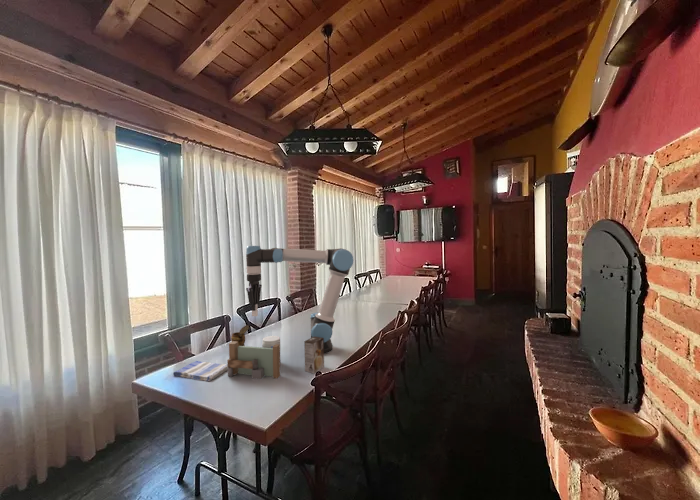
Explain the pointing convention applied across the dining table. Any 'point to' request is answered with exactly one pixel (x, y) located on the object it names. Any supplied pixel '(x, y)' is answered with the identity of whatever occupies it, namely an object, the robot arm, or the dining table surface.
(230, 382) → the dining table surface
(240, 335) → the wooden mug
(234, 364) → the walnut bar
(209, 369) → the dish towel
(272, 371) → the door set
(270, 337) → the supplement tub
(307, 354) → the coffee box
